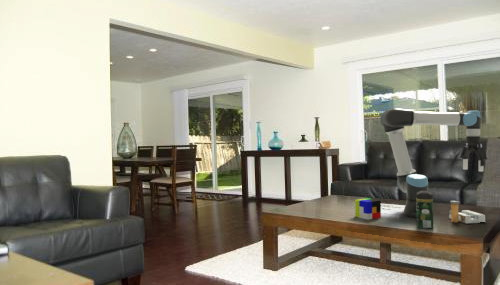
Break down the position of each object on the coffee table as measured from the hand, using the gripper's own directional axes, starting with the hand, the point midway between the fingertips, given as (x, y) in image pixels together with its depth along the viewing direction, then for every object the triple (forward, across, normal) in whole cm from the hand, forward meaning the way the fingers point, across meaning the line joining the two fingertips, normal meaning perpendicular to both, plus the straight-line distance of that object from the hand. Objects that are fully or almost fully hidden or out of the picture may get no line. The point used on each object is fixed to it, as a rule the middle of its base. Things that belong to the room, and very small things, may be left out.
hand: (472, 170), depth 241 cm
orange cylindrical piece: (+25, -25, +30) cm, 47 cm away
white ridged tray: (+25, -23, +22) cm, 41 cm away
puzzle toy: (+26, -3, +70) cm, 74 cm away
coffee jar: (+26, -32, +52) cm, 67 cm away
